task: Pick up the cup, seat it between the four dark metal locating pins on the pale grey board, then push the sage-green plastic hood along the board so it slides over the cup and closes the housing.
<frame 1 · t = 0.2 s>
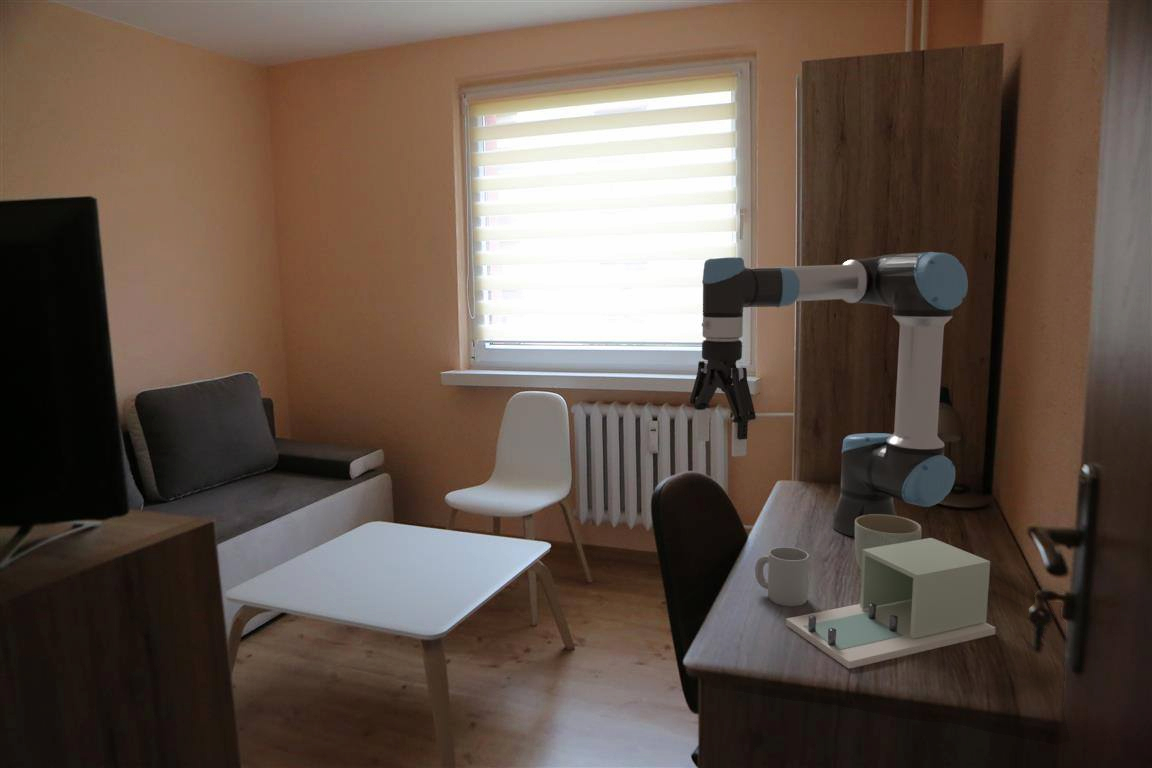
hand: (719, 448, 148), 27 cm above the table, fingers open, 13 cm apart
pins: (852, 637, 127), resting on board
planter: (885, 576, 154), on the table
board: (888, 629, 130), on the table
hood: (923, 585, 132), point 7 cm above the table, slide at 0.0 cm
cup: (780, 598, 144), on the table
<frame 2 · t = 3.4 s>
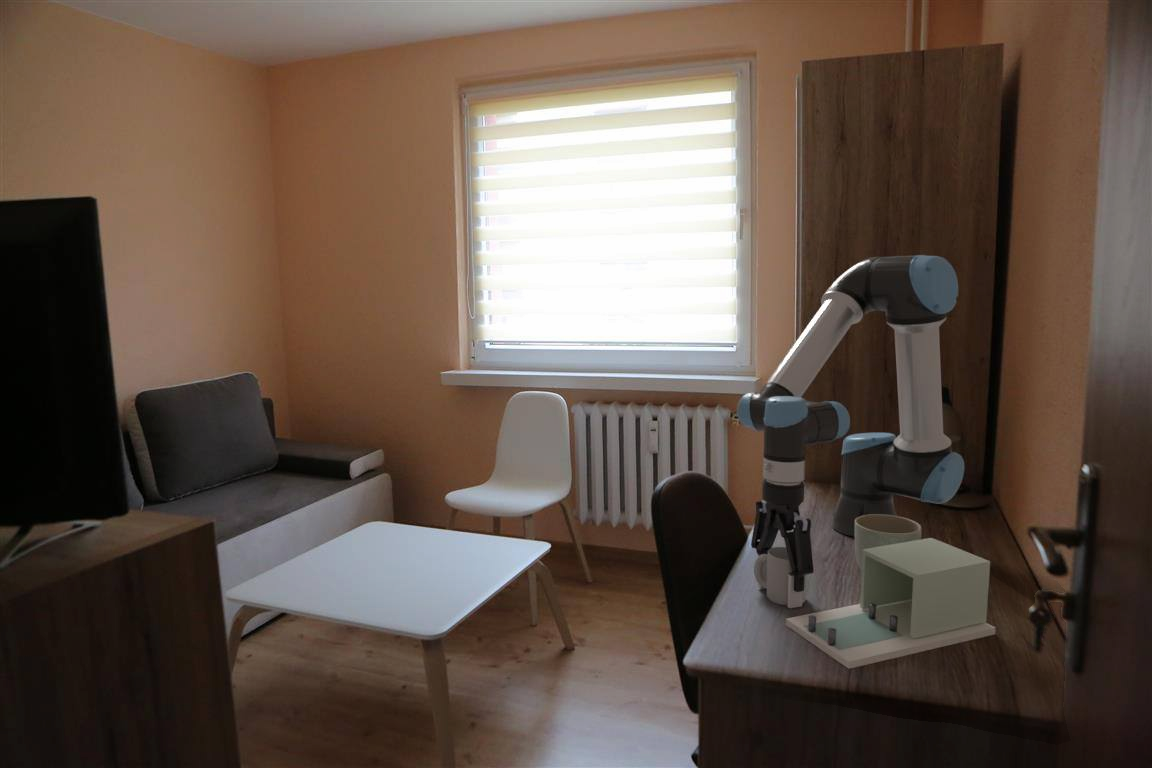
hand: (779, 596, 143), 0 cm above the table, fingers closed on cup, 9 cm apart
cup: (778, 597, 144), on the table, touching gripper
everything else where it was.
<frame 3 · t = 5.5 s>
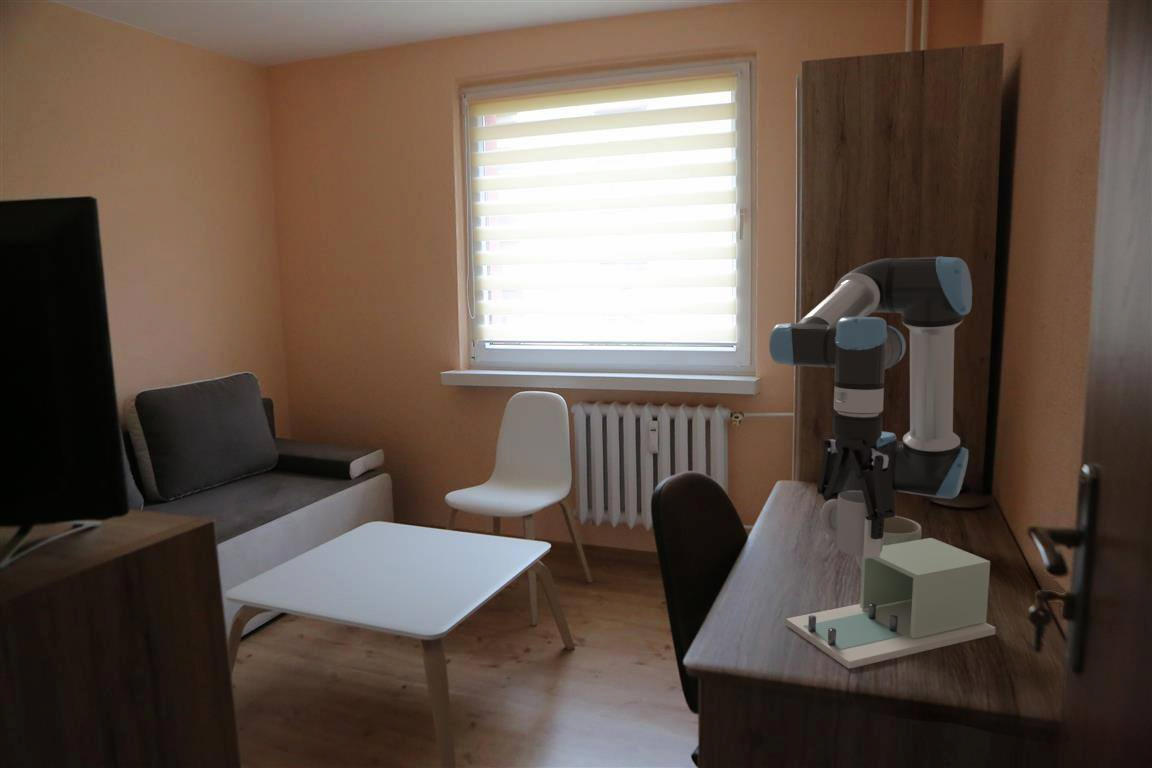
hand: (851, 547, 126), 16 cm above the table, fingers closed on cup, 9 cm apart
cup: (850, 548, 126), point 15 cm above the table, touching gripper
everything else where it was.
when the fingers open (3 cm above the table, at t = 7.9 s): cup drops 1 cm, resting on board.
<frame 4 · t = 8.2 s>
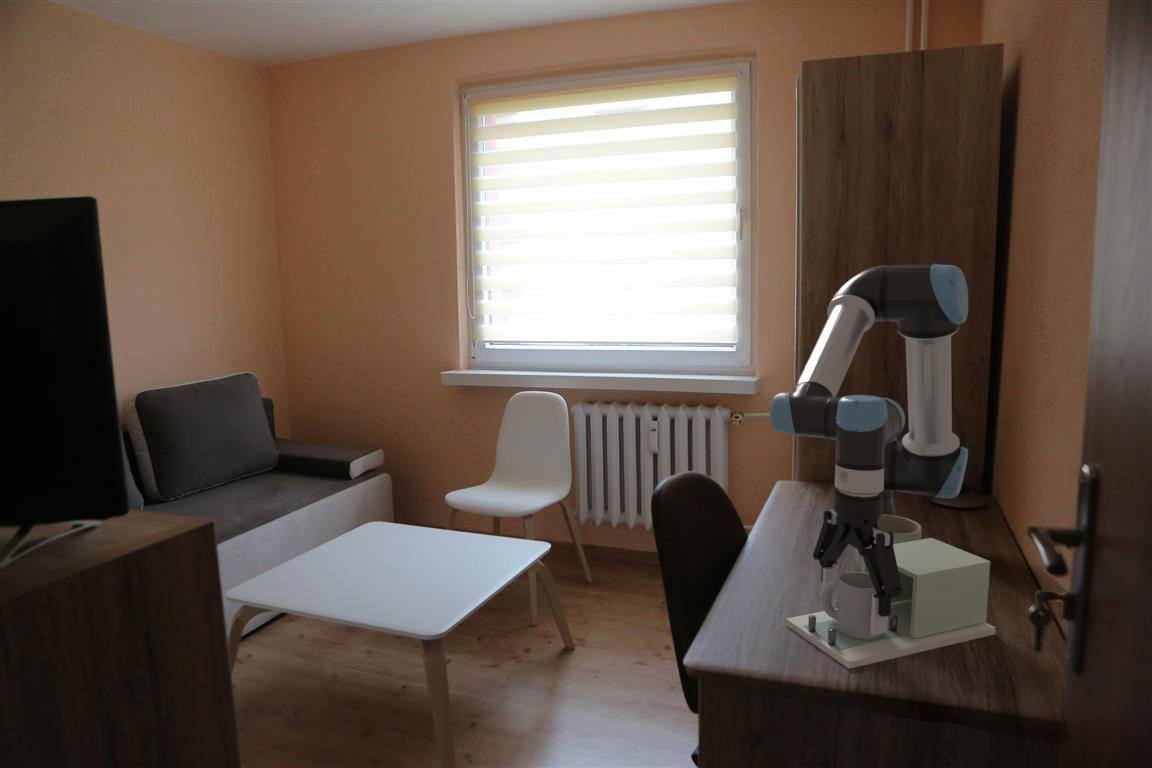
hand: (853, 617, 127), 4 cm above the table, fingers open, 11 cm apart
cup: (850, 630, 128), point 1 cm above the table, touching board
everything else where it was.
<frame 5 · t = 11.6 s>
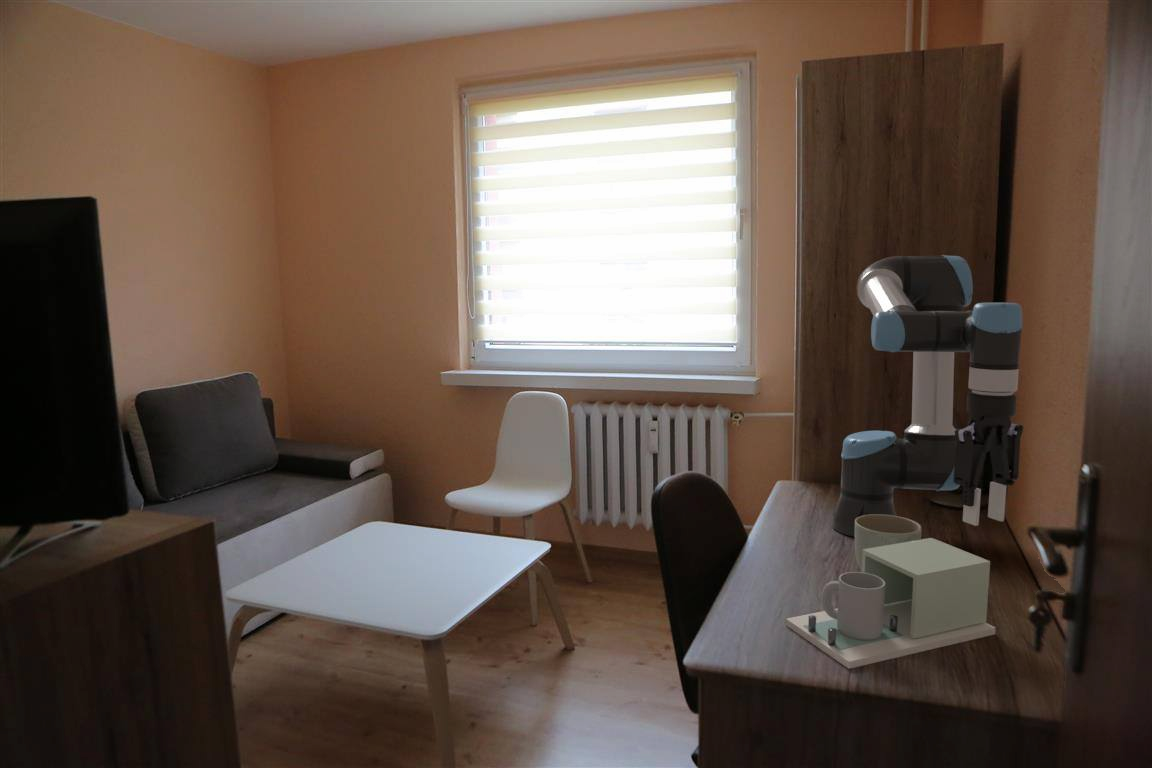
hand: (983, 520, 135), 17 cm above the table, fingers open, 5 cm apart
nothing on the table moved.
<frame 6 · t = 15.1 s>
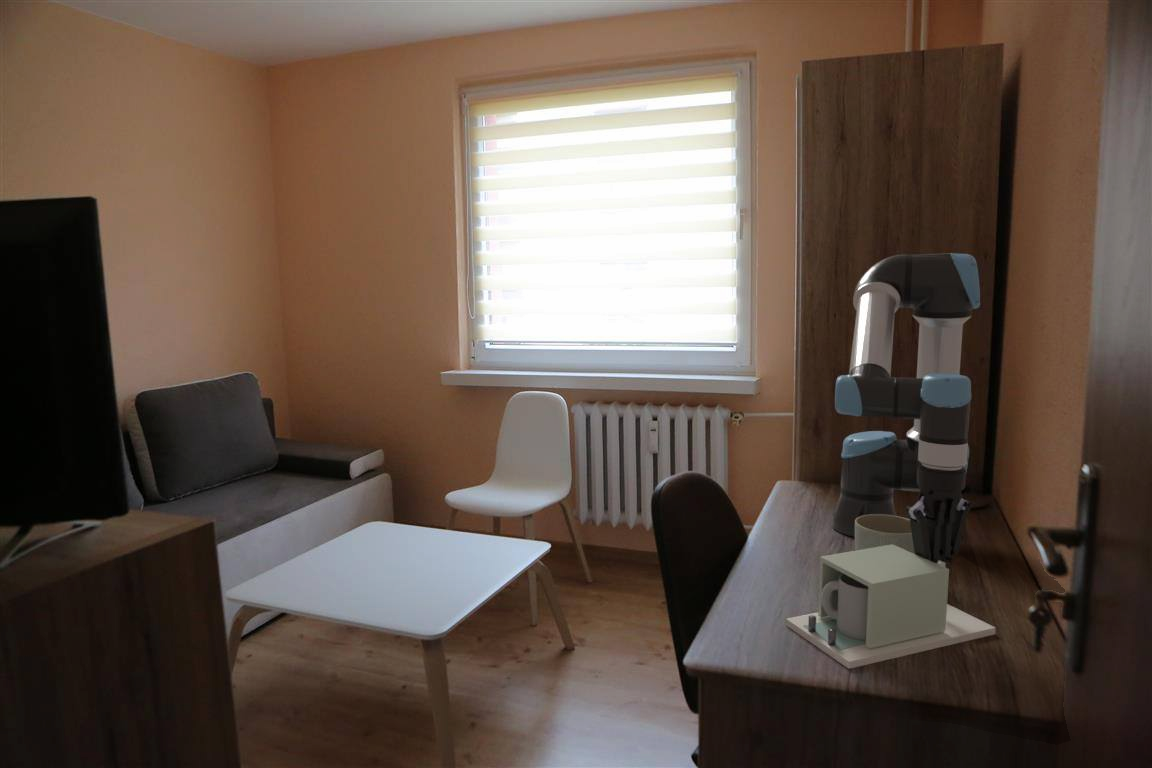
hand: (934, 596, 133), 5 cm above the table, fingers closed
hood: (881, 593, 128), point 7 cm above the table, slide at 9.1 cm, touching hand
everything else where it was.
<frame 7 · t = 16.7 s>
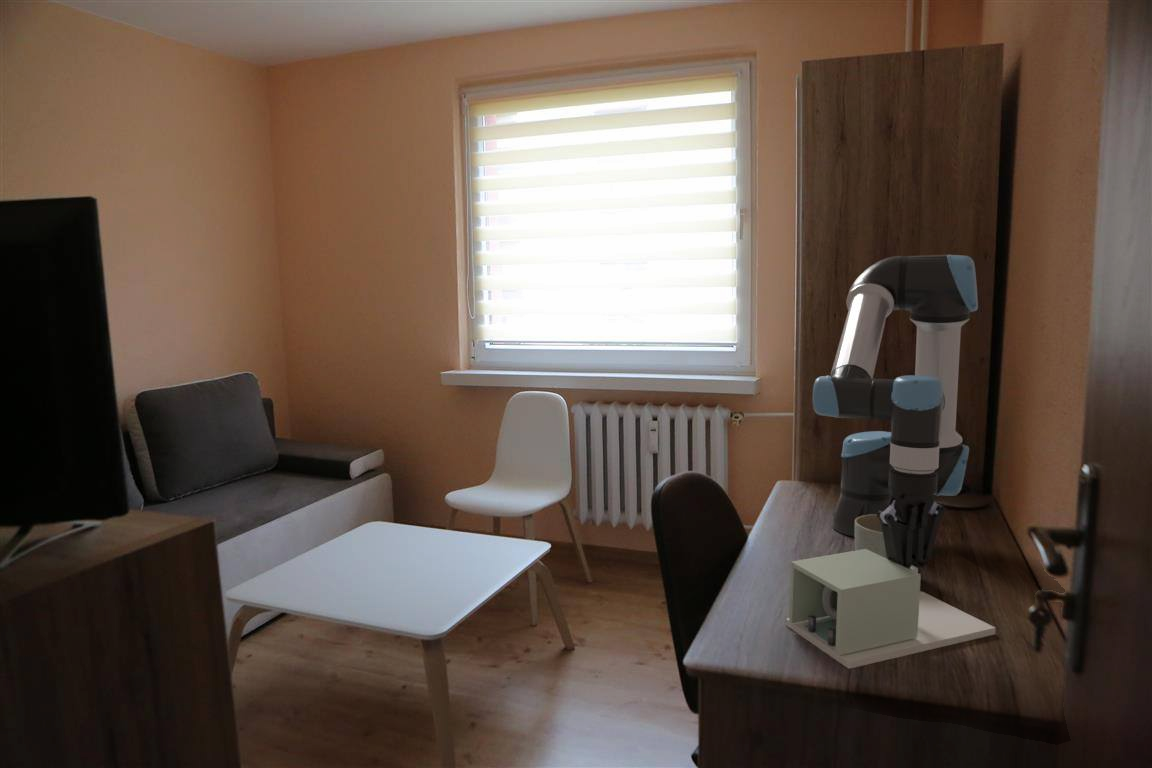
hand: (907, 601, 131), 5 cm above the table, fingers closed
hood: (853, 598, 126), point 7 cm above the table, slide at 15.1 cm, touching gripper, hand
everything else where it was.
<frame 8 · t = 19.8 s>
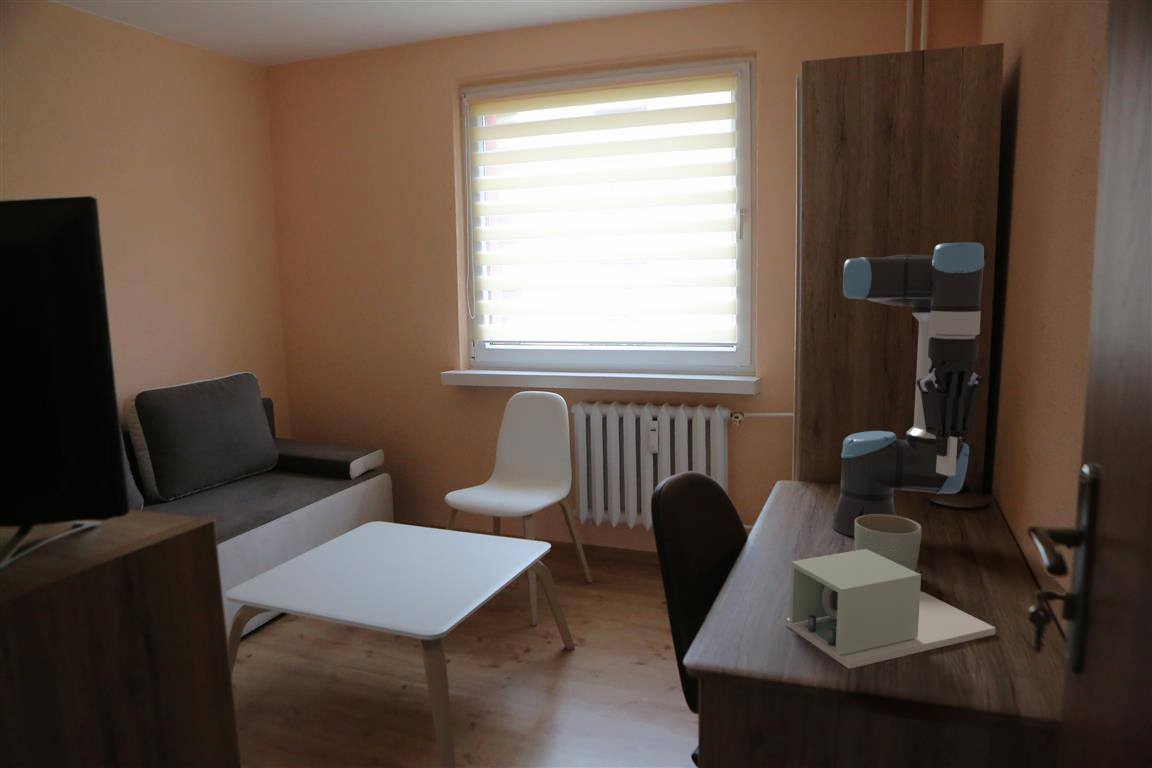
hand: (945, 473, 130), 26 cm above the table, fingers closed
hood: (853, 598, 126), point 7 cm above the table, slide at 15.0 cm
everything else where it was.
at the end: cup inside the target area (0.4 cm from its centre), point 1.1 cm above the table; cup tilted 0°; hood slide at 15.0 cm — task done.
